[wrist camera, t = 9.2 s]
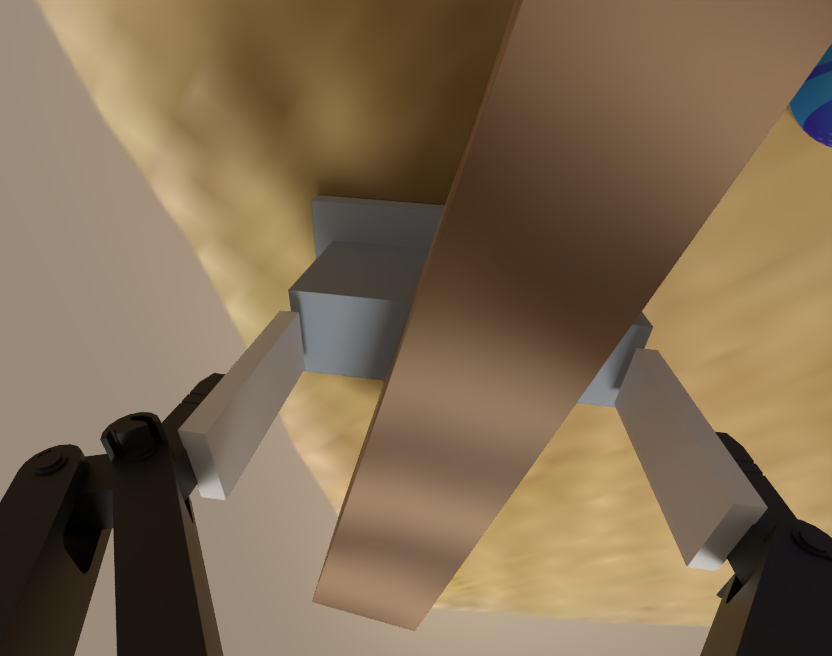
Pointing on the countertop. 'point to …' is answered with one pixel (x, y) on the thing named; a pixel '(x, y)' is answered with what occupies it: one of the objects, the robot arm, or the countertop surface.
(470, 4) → the countertop surface
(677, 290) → the countertop surface
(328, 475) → the countertop surface
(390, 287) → the fulcrum block
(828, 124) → the beer can
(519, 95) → the walnut bar
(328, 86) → the countertop surface
